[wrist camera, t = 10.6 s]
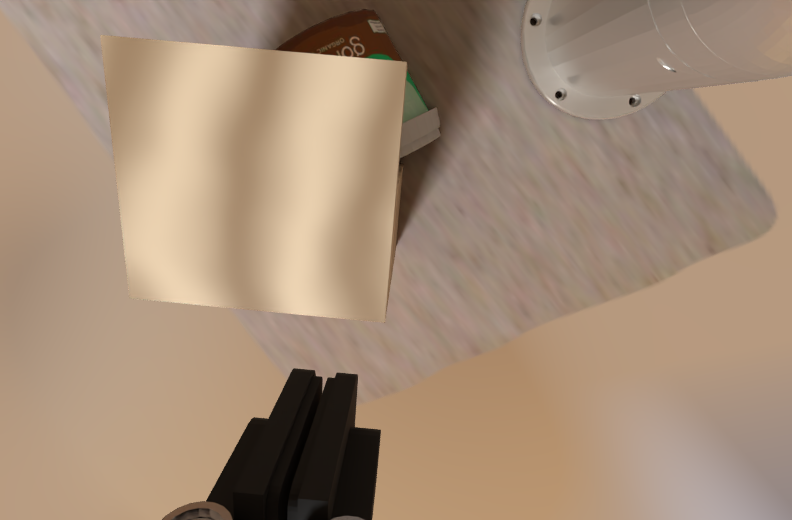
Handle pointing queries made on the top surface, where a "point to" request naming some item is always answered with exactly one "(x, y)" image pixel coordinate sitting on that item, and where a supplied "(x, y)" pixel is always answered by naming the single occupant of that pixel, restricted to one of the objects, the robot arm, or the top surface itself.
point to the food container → (370, 40)
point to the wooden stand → (256, 175)
